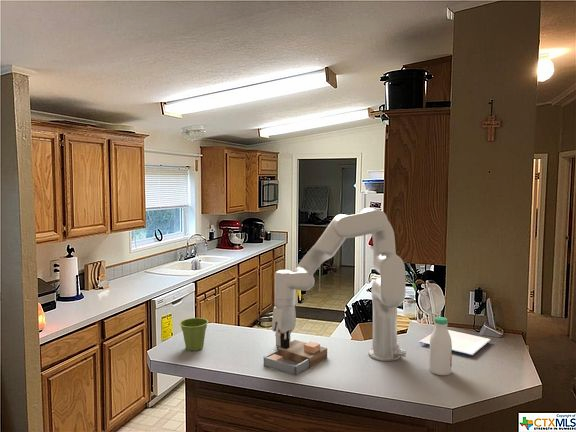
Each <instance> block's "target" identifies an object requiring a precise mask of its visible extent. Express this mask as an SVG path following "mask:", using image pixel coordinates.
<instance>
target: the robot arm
mask: <svg viewBox="0 0 576 432" xmlns="http://www.w3.org/2000/svg"><path fill="white" fill-rule="evenodd" d="M366 235H371V238H372V244H373V245H372V247H373V250H372V251H373V252H372V253H373V255H372V256H373V259H372V260H373V268H374V270H375V271H376V272H377V273H378V274H379V276H380V277H377V278H376V279H375V280H374V281H373V283H372V286H371V300H372V301H371V302H372V348H370V349H369V350H368V355H369V357H371V358H372V359H374V360H377V361H382V362H383V361H384V362H392V361H396V360H399V359H400V358H401V357H403V358H405V357H407V351H406V350H405V349H401V348H400V344H398V307H400V306H401V305H402V304H403V303H404V301H405V298H406V267H405V266H406V265H405V262H404V261H403V259H402V258H401V257H400V256H399V255H397V253H396V251H397V250H396V237H395V231H394V229H393V226H392V223H390V221H389V219H388V217H387V214H386V213H385V212H384V211H383V210H381V209H378V208H374V207H365V208H363V209H362V210H361V211H359V213H355V214H346V213H345V214H343V213H340V214H337V215H336V216H334V218H333V219H332V220H331V221H330V223H329V224H328V225H327V227H326V228H325V230H324V231H323V233H322V234H321V235H320V237H319V238H318V240H317V241H316V242H315V243H314V245H313V246H312V247H311V248H310V249H309V250H308V251H307V252H306V254H304V256H303V257H302V258H301V260H300V261H299V263H298V264H297V266H296V267H295V268H294V271H292V270H289V269H279V270H277V271H275V272H274V307H273V311H272V318H271V319H272V321H271V327H272V328H271V330H272V332H275V334H274V336H275V337H276V336H277V337H279V338H280V343H281V348H284V349H288V348H289V338H290V339H291V334H292V332H293V331H294V330H295V327H296V325H297V320H296V319H297V316H296V307H295V290H297V291H309V290H311V289H312V288H313V287H314V285H315V277H314V274H315V273H316V271H317V269H319V267H320V266H321V265H322V264H323V263H325V262H326V261H327V260H329V259H332V258H333V257H334V256H335V255H336V253H337V252H338V250H339V249H340V248H341V246H342V245H343V243H344V242H345V241H346V239H352V238H357V237H361V236H366Z"/></svg>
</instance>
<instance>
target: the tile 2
mask: <svg viewBox="0 0 576 432" xmlns="http://www.w3.org/2000/svg"><path fill="white" fill-rule="evenodd" d="M306 343H307V344H305V345H304V351H306V352H309V353H313V354H314V353H316V352H318V351H319V350H320V347H321V343H319V342H314V341H309V342H306Z"/></svg>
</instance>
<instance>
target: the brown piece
mask: <svg viewBox="0 0 576 432" xmlns="http://www.w3.org/2000/svg"><path fill="white" fill-rule="evenodd" d="M307 343H308V342H304V341H301V340H297V339H294V340H292V341H291V340H290V342H289V348H288V349H284V348H281V347H279V348H278V347H276V351H277V350H279V356H283V359H286V360H289V361H292V362H296V363H301V362H303V361H305V360H307V359H309V369H311V368H314V367H315V366H316V365H318V364H320V363H322V362H323V361H324V360H326V359H328V347H324V346H320V350H319V351H318V352H316V353H314V354H313V353H309V352H306V351H304V345H305V344H307Z"/></svg>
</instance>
